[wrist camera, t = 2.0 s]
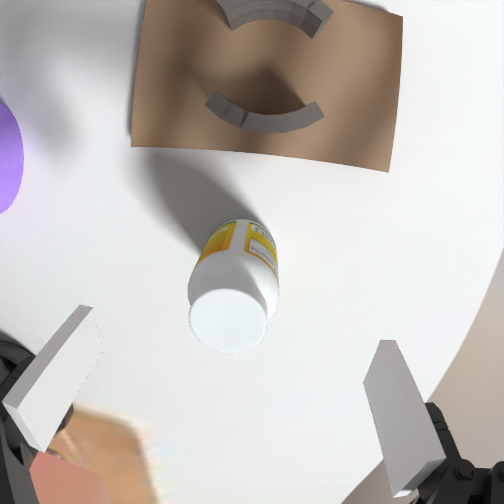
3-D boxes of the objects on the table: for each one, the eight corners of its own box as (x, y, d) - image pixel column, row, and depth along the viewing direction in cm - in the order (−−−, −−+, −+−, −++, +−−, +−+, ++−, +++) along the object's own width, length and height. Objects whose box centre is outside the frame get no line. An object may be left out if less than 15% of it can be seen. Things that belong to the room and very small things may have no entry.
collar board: (138, 145, 22) (104, 152, 17) (154, -3, 17) (127, -30, 12) (381, 169, 22) (412, 183, 17) (395, 21, 17) (427, 0, 12)
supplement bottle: (280, 220, 24) (290, 281, 15) (271, 285, 26) (275, 366, 17) (207, 214, 24) (174, 269, 15) (205, 278, 26) (177, 356, 17)
